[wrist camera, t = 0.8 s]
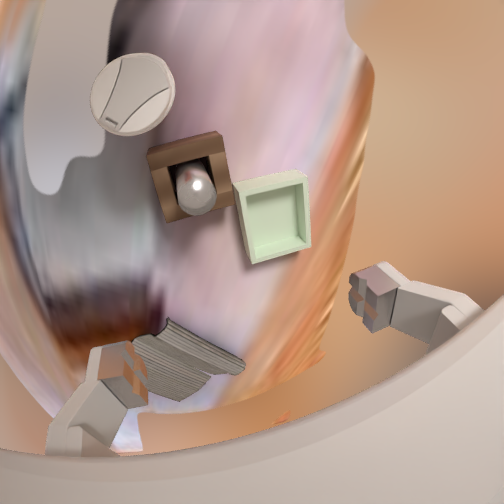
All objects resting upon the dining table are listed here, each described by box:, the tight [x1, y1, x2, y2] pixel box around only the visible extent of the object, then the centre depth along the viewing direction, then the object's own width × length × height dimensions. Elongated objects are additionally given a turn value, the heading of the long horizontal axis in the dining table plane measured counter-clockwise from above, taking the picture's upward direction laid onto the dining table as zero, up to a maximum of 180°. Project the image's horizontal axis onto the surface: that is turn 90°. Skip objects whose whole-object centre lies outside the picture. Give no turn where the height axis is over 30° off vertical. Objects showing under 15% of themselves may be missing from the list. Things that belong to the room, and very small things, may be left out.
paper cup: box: [90, 53, 175, 136], centre depth 24 cm, size 8×8×14 cm
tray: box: [232, 169, 311, 264], centre depth 42 cm, size 12×10×4 cm
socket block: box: [146, 131, 235, 223], centre depth 35 cm, size 9×9×5 cm
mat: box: [131, 317, 246, 402], centre depth 55 cm, size 23×24×5 cm
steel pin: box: [175, 158, 217, 215], centre depth 32 cm, size 4×4×11 cm
